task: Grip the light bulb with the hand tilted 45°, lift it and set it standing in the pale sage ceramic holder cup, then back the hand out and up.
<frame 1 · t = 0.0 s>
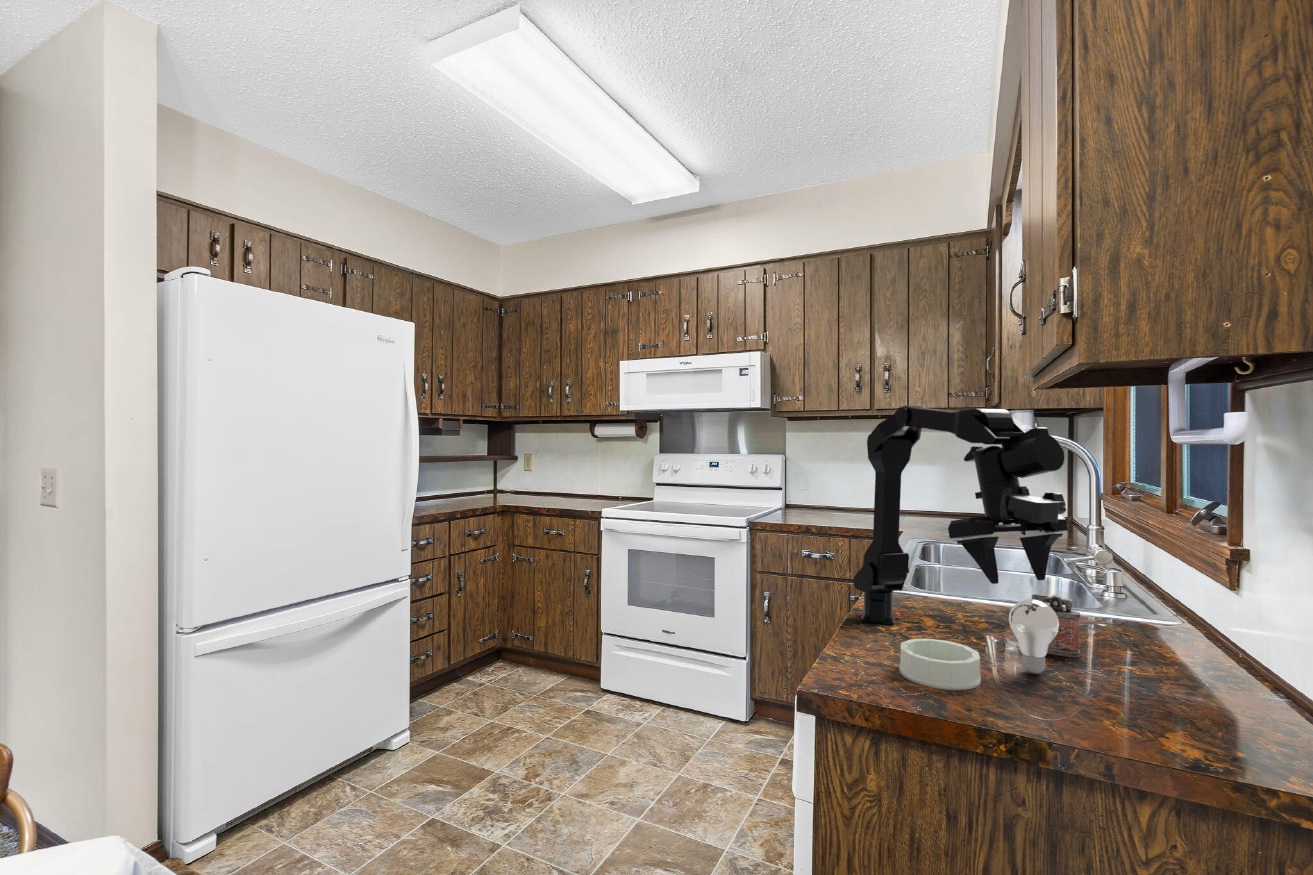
hand: (1018, 581, 98), 15 cm above the worktop, tool pointing down, fingers open, 9 cm apart
lighter: (1052, 652, 112), on the worktop
bulb holder: (939, 675, 100), on the worktop
light bulb: (1033, 675, 101), on the worktop
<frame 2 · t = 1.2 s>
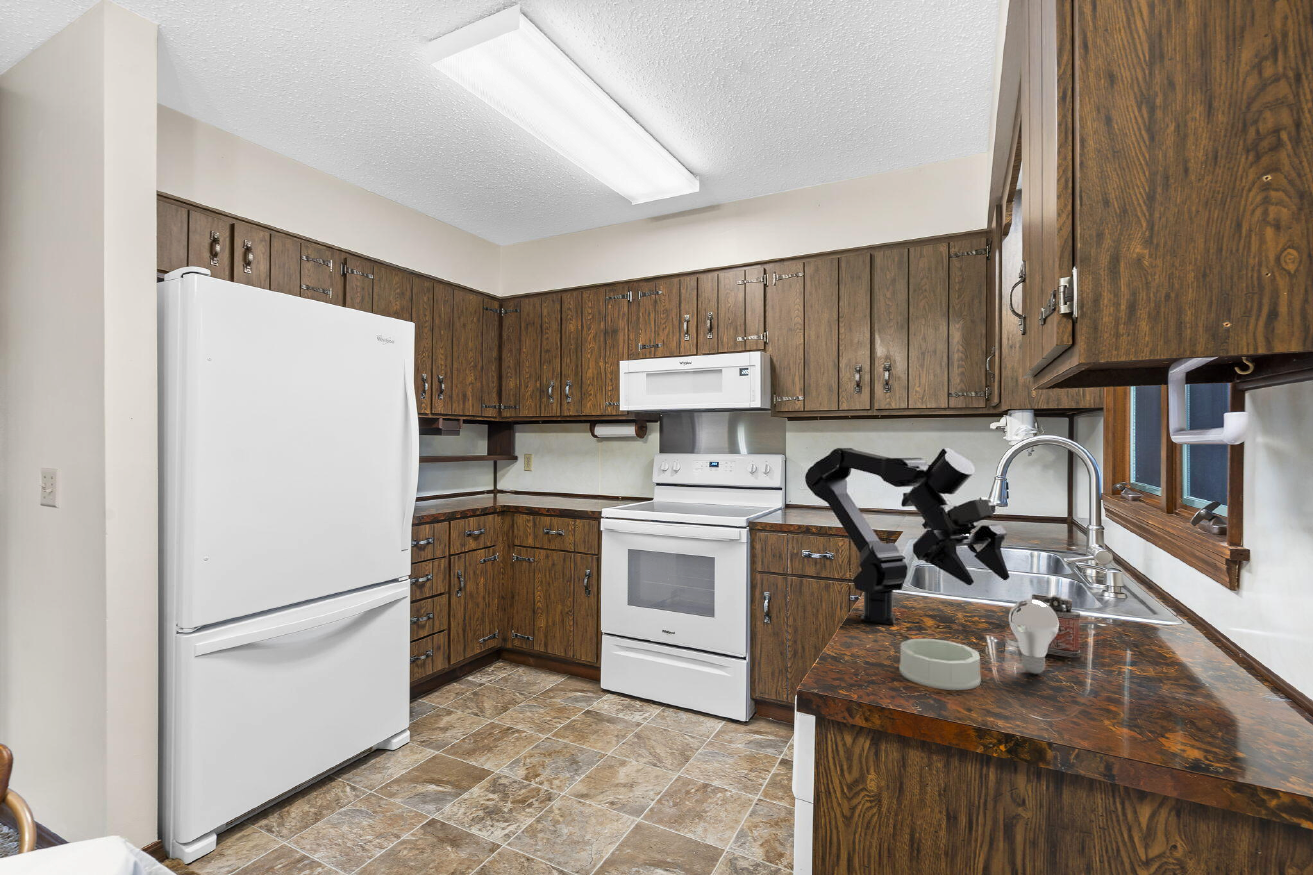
hand: (989, 581, 108), 13 cm above the worktop, tool tilted 45°, fingers open, 9 cm apart
nothing on the worktop moved.
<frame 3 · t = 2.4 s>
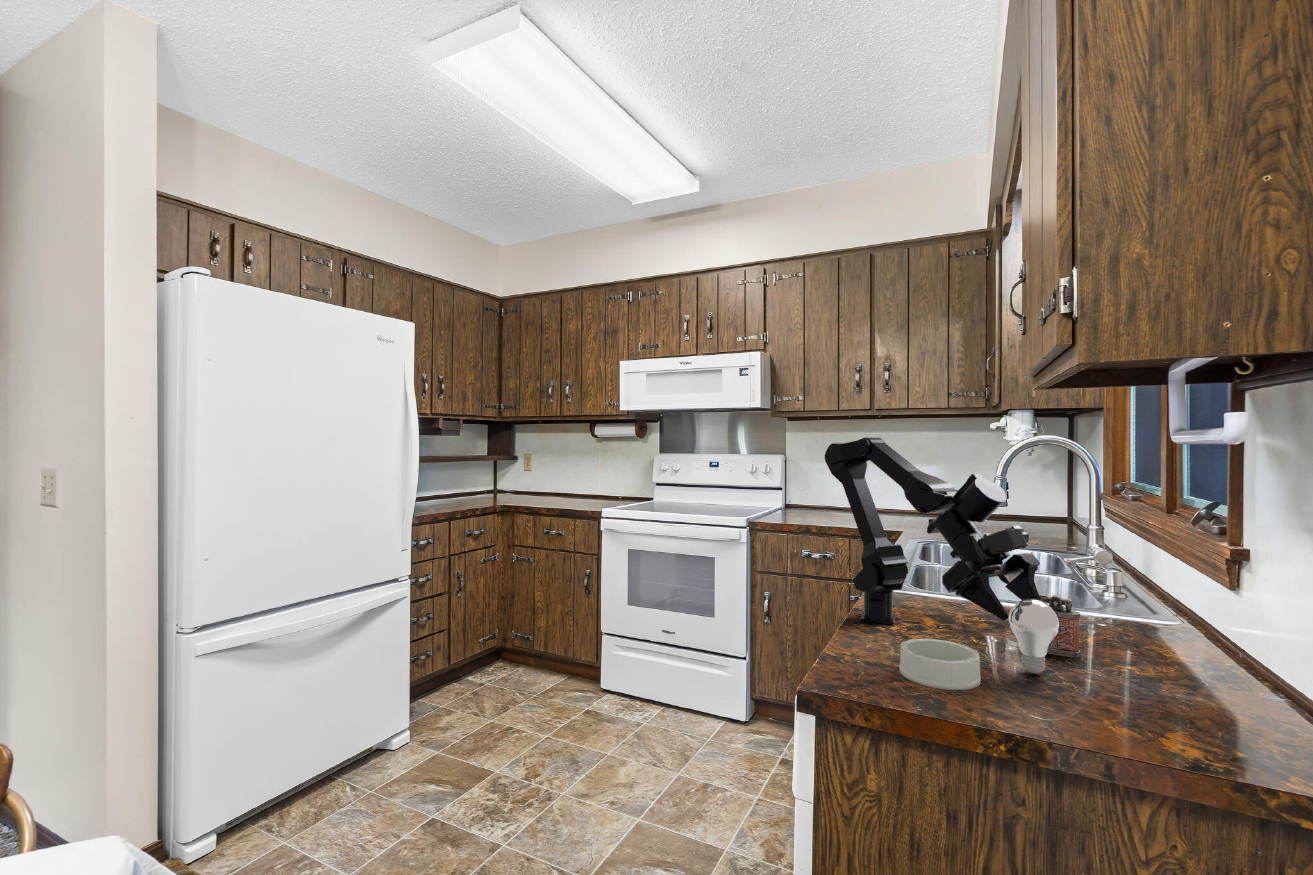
hand: (1024, 615, 103), 9 cm above the worktop, tool tilted 45°, fingers open, 9 cm apart
nothing on the worktop moved.
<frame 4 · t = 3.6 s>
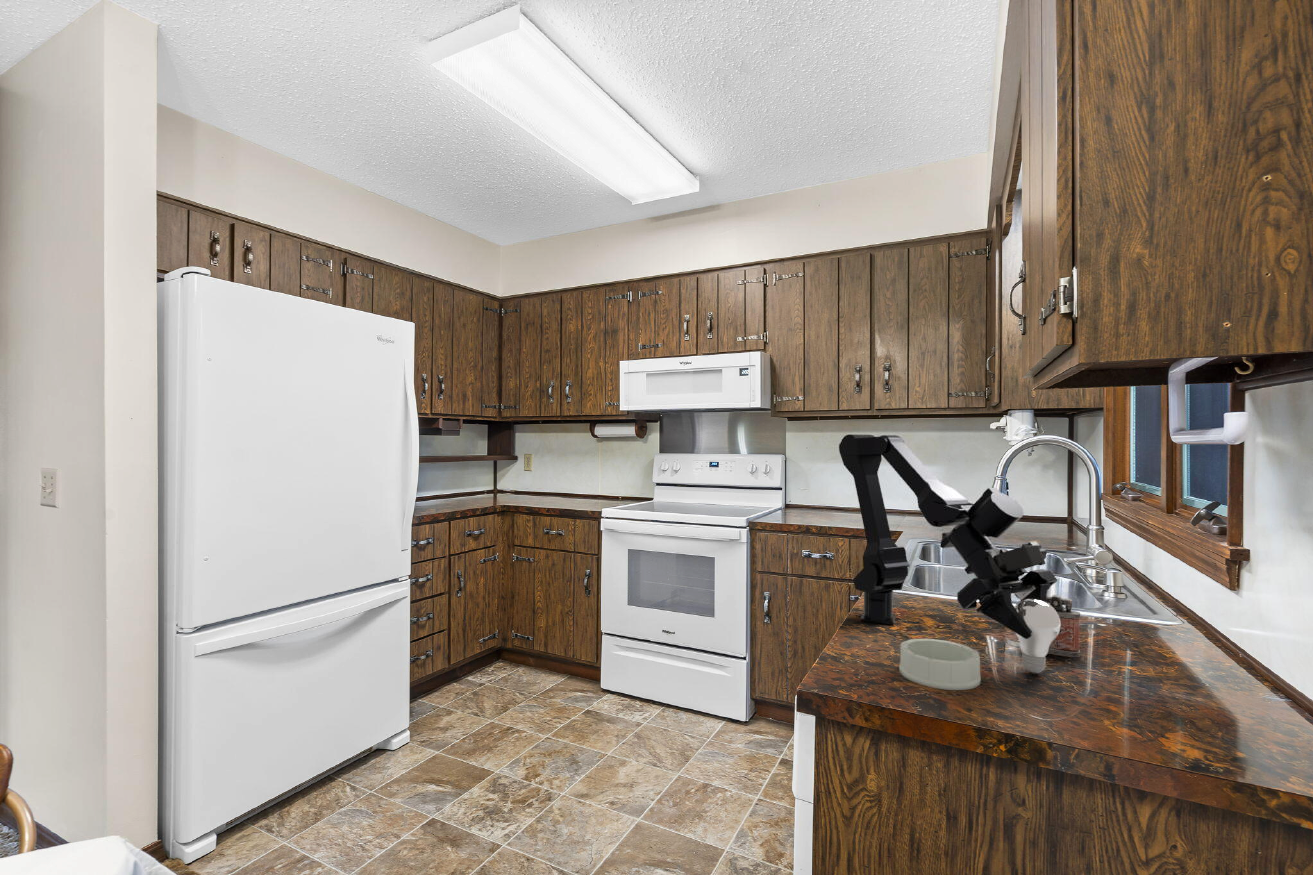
hand: (1042, 634, 100), 7 cm above the worktop, tool tilted 45°, fingers closed on light bulb, 6 cm apart
light bulb: (1033, 674, 101), on the worktop, touching gripper
everything else where it was.
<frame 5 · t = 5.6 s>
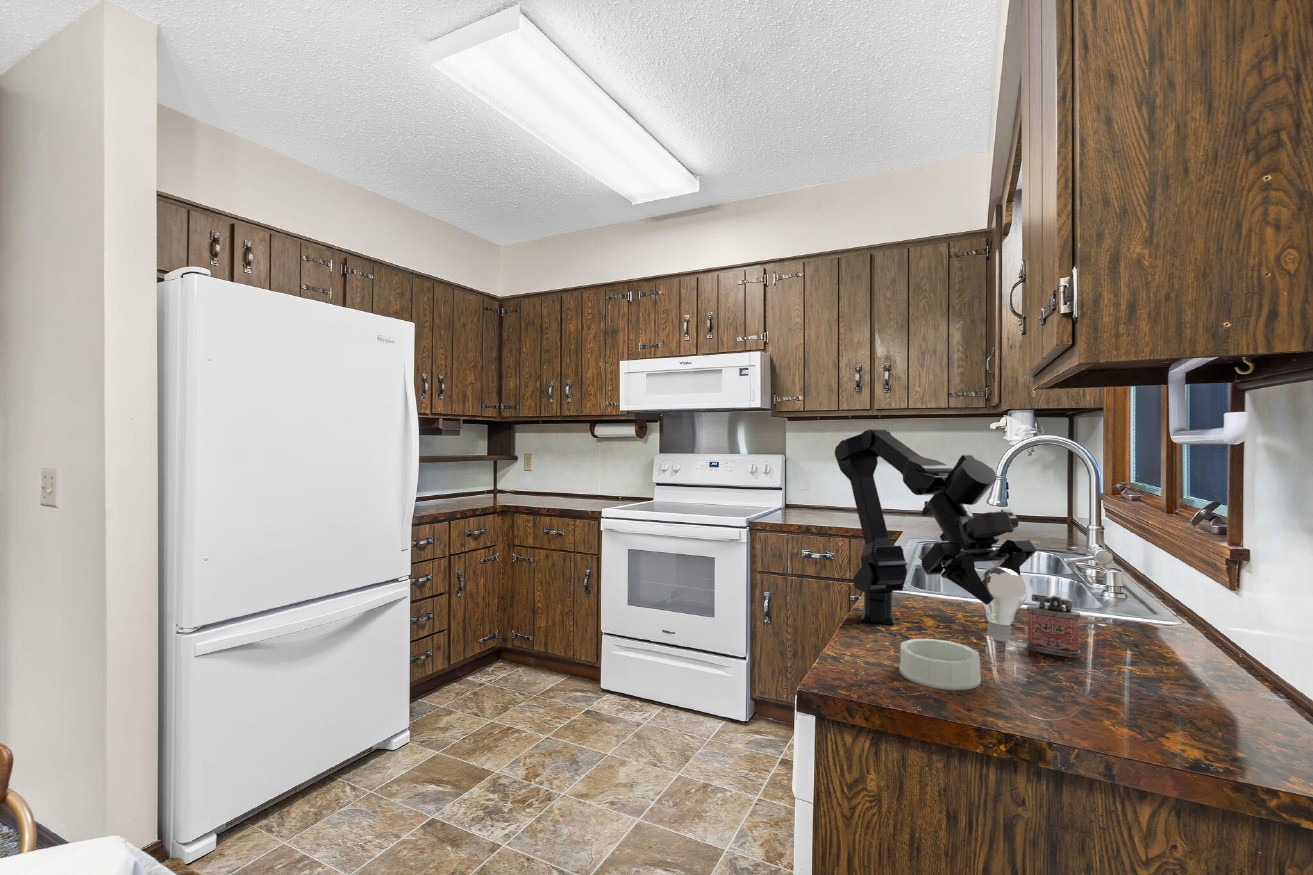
hand: (1006, 601, 99), 12 cm above the worktop, tool tilted 45°, fingers closed on light bulb, 6 cm apart
light bulb: (998, 643, 100), point 5 cm above the worktop, touching gripper
everything else where it was.
when the fingers open (8 cm above the worktop, at t = 7.7 s): light bulb stays where it is, resting on bulb holder.
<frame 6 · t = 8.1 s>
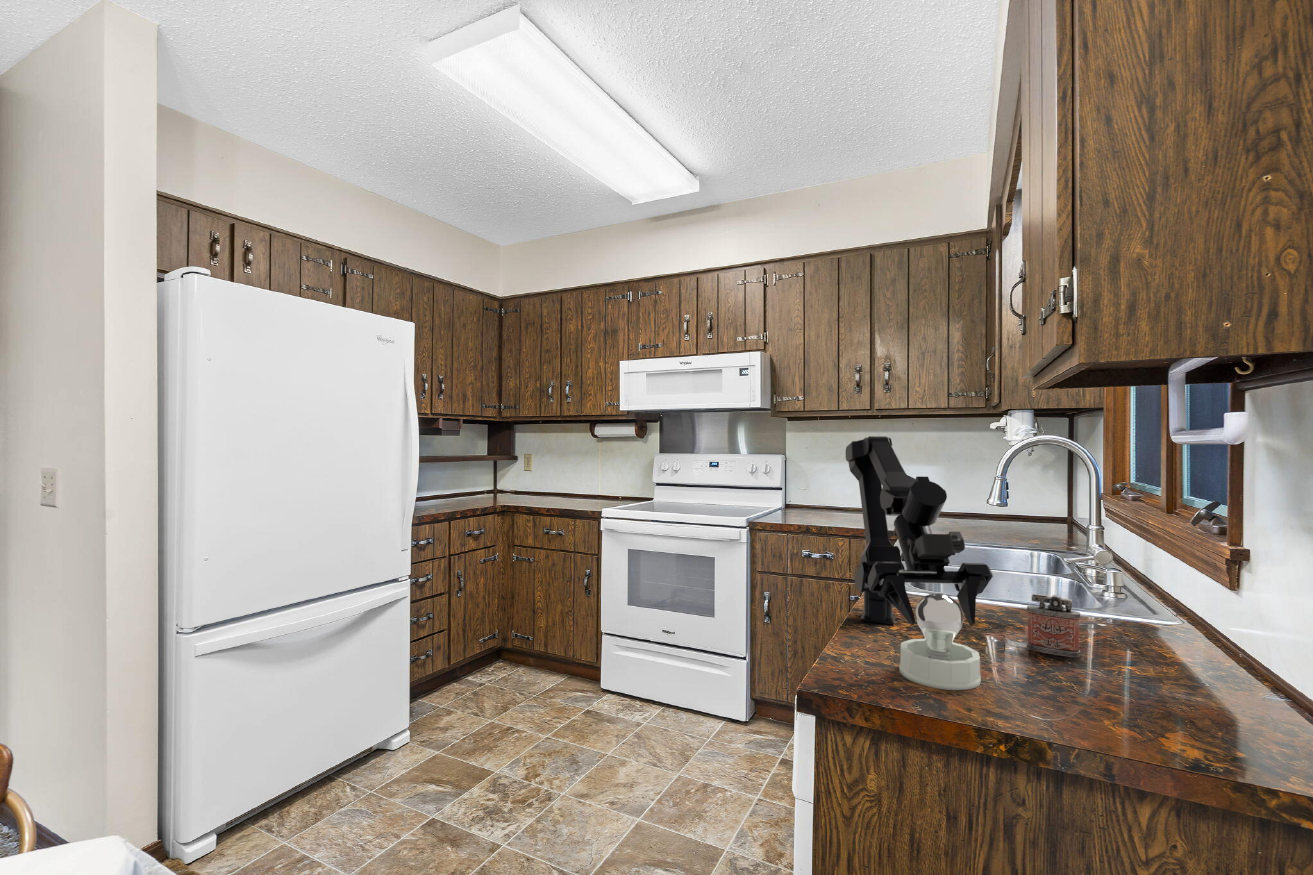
hand: (943, 624, 99), 9 cm above the worktop, tool tilted 45°, fingers open, 9 cm apart
light bulb: (938, 669, 100), point 1 cm above the worktop, touching bulb holder
everything else where it was.
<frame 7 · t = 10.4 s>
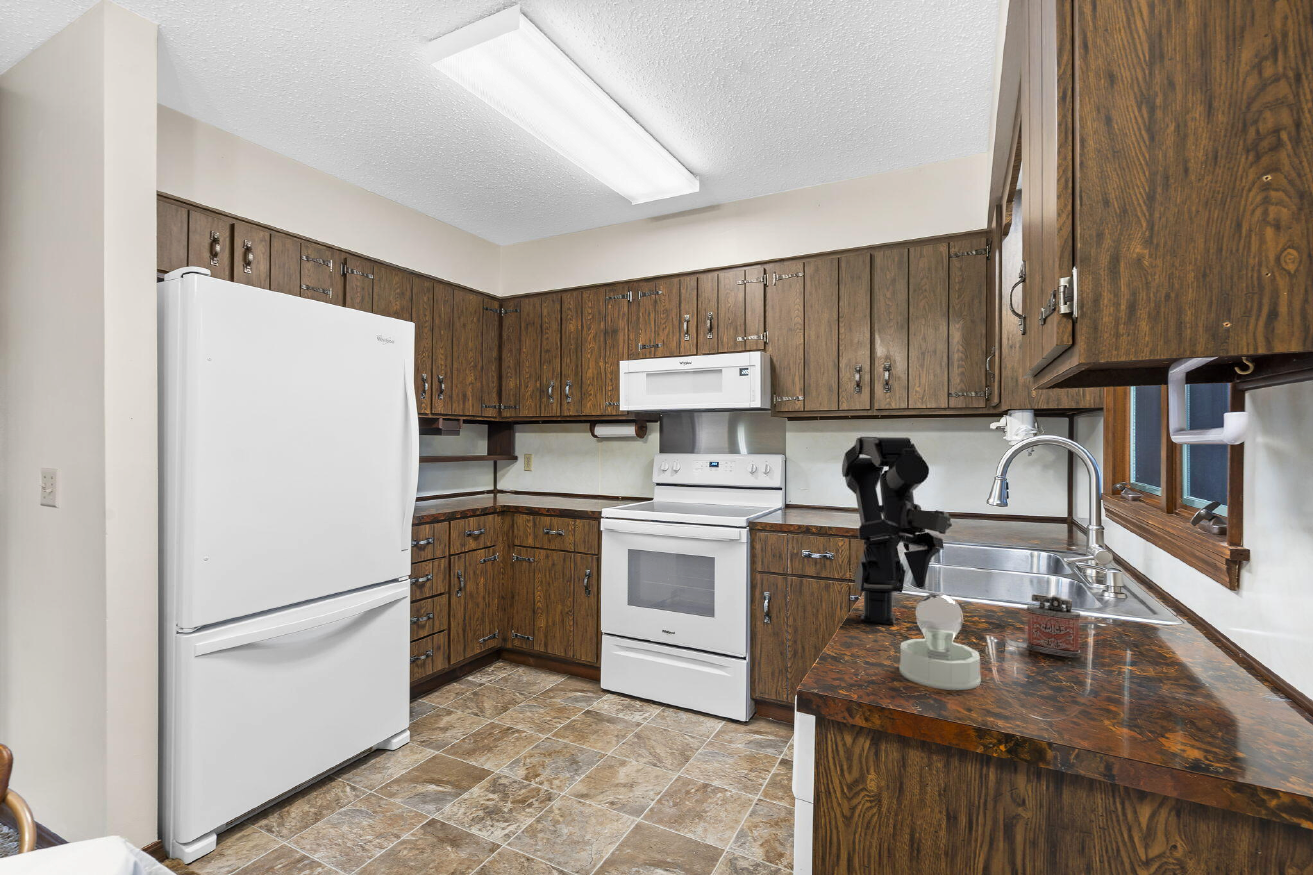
hand: (906, 584, 113), 12 cm above the worktop, tool tilted 20°, fingers open, 9 cm apart
nothing on the worktop moved.
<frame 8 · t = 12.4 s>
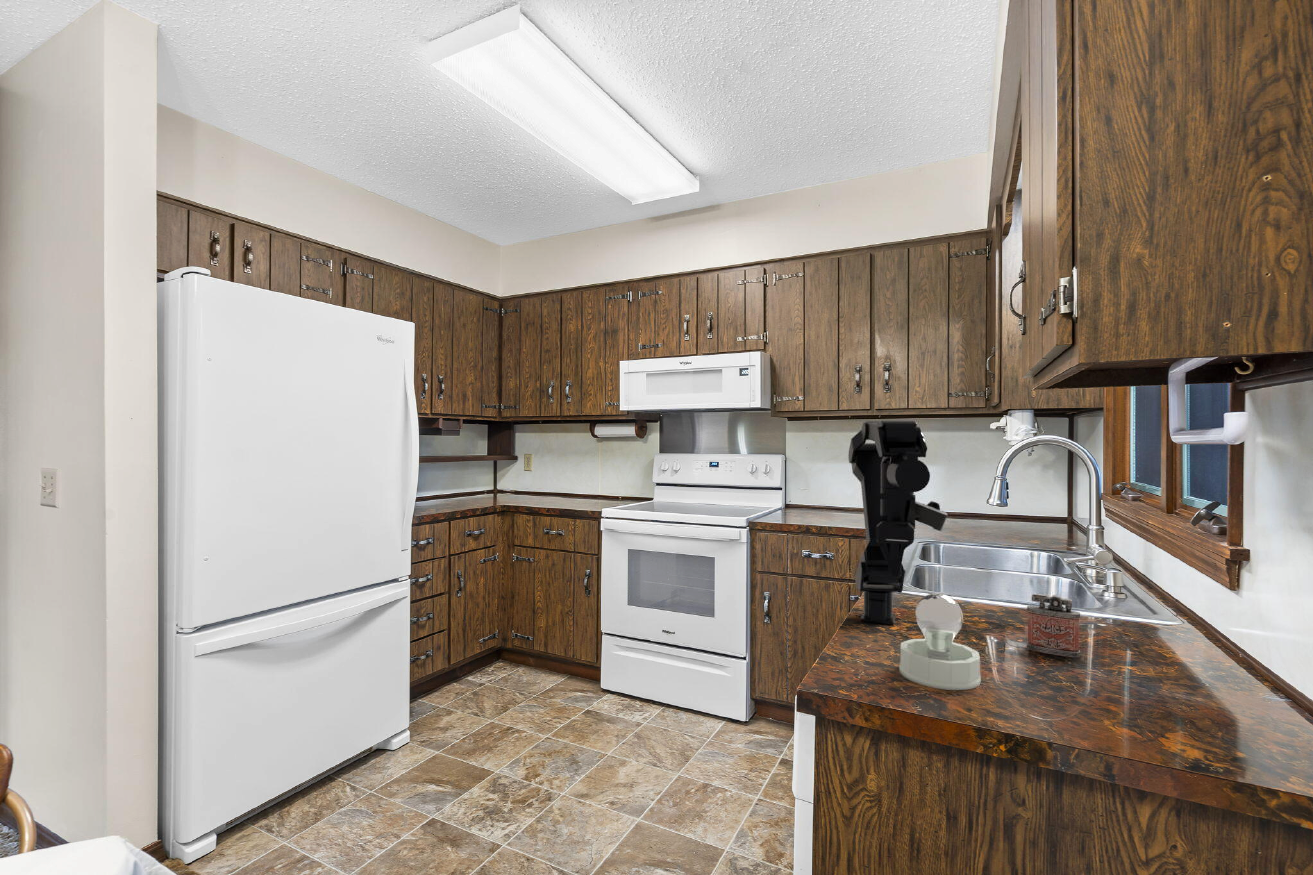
hand: (896, 571, 117), 13 cm above the worktop, tool pointing down, fingers open, 9 cm apart
nothing on the worktop moved.
at the end: light bulb 0.2 cm off-centre on the bulb holder, point 0.8 cm above the bulb holder's base; light bulb tilted 0°; the gripper is holding nothing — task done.
